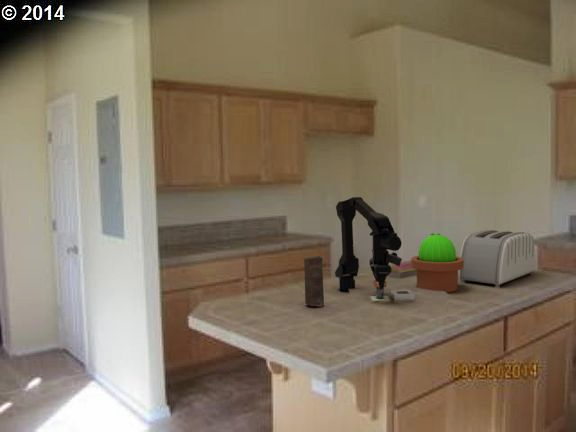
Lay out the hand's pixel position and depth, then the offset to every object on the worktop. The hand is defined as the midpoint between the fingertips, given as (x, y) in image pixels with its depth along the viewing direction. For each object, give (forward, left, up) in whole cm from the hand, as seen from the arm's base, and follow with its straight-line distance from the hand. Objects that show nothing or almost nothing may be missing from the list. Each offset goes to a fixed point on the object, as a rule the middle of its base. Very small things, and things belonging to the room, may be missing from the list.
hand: (380, 286), depth 214 cm
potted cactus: (+29, +22, -7) cm, 37 cm away
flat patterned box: (+25, +61, -7) cm, 67 cm away
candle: (-26, -4, -7) cm, 28 cm away
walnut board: (+5, 0, -7) cm, 8 cm away
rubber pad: (0, 0, -5) cm, 5 cm away
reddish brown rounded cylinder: (0, 0, -5) cm, 5 cm away
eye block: (+9, 0, -5) cm, 10 cm away
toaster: (+64, +44, -7) cm, 78 cm away
